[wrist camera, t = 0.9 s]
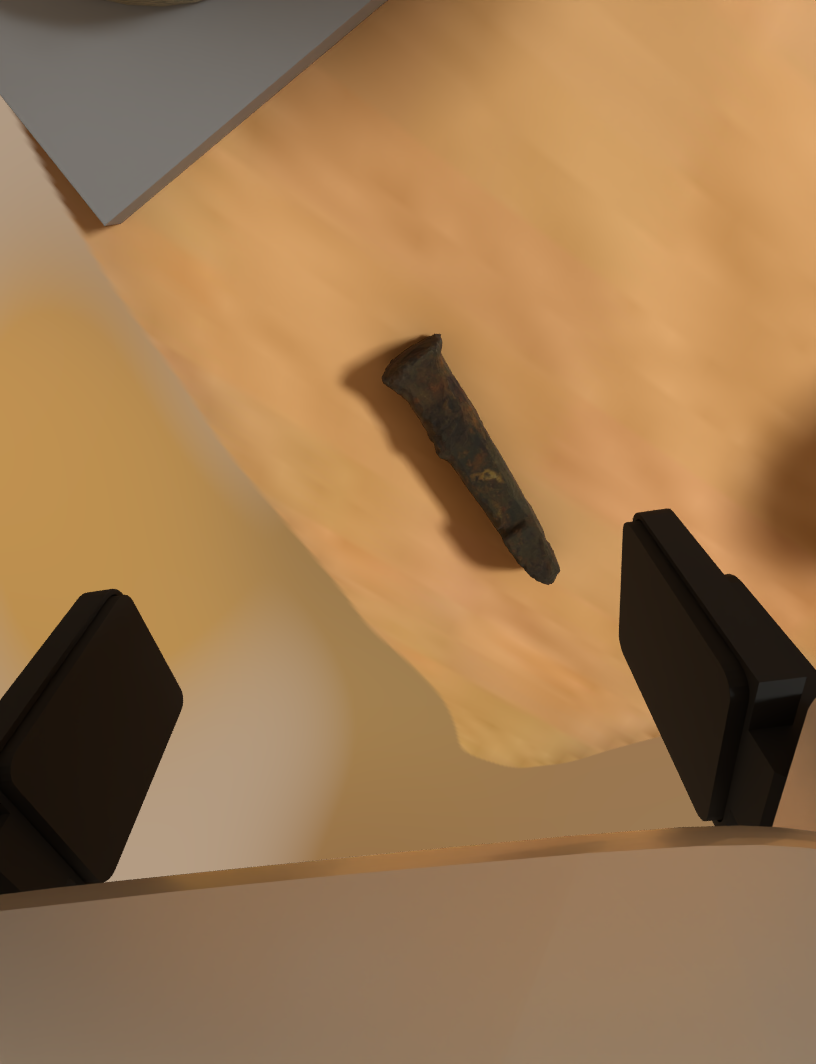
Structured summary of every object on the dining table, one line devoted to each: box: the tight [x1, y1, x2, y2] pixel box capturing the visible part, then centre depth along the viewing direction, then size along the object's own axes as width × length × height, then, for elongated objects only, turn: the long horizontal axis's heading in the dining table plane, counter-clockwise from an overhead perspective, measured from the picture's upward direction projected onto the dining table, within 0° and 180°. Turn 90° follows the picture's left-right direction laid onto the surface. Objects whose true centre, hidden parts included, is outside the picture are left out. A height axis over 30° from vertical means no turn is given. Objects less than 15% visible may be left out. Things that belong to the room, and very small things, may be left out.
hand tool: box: [382, 334, 560, 585], centre depth 37 cm, size 19×4×5 cm, turn 31°
